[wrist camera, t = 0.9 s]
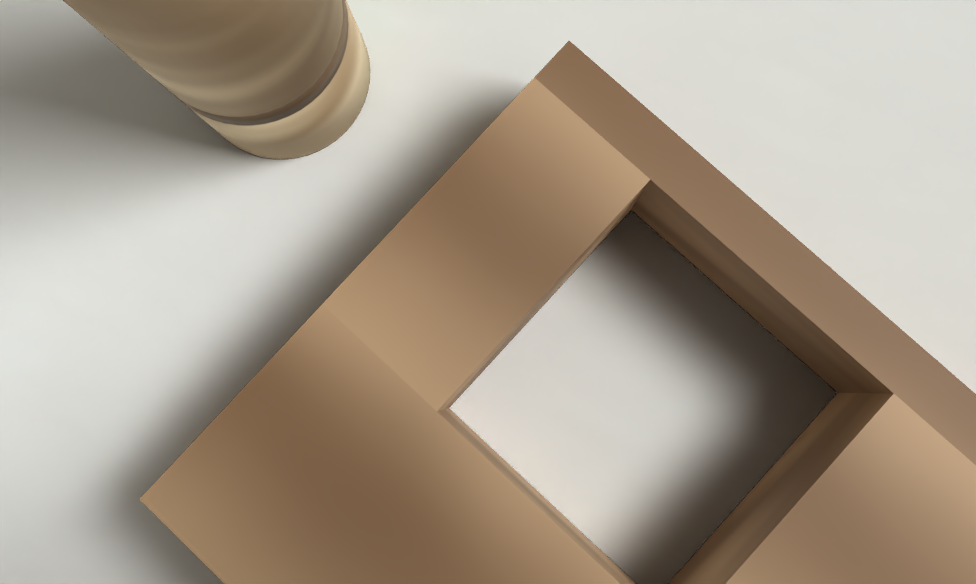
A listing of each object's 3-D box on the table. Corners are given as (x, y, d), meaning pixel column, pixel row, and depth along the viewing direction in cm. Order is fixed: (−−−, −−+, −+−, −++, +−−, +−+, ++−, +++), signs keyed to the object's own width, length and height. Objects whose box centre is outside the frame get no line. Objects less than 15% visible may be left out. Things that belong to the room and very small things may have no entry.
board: (674, 953, 19) (702, 1058, 16) (194, 483, 20) (138, 499, 17) (1049, 518, 20) (1144, 541, 17) (561, 90, 21) (568, 40, 18)
